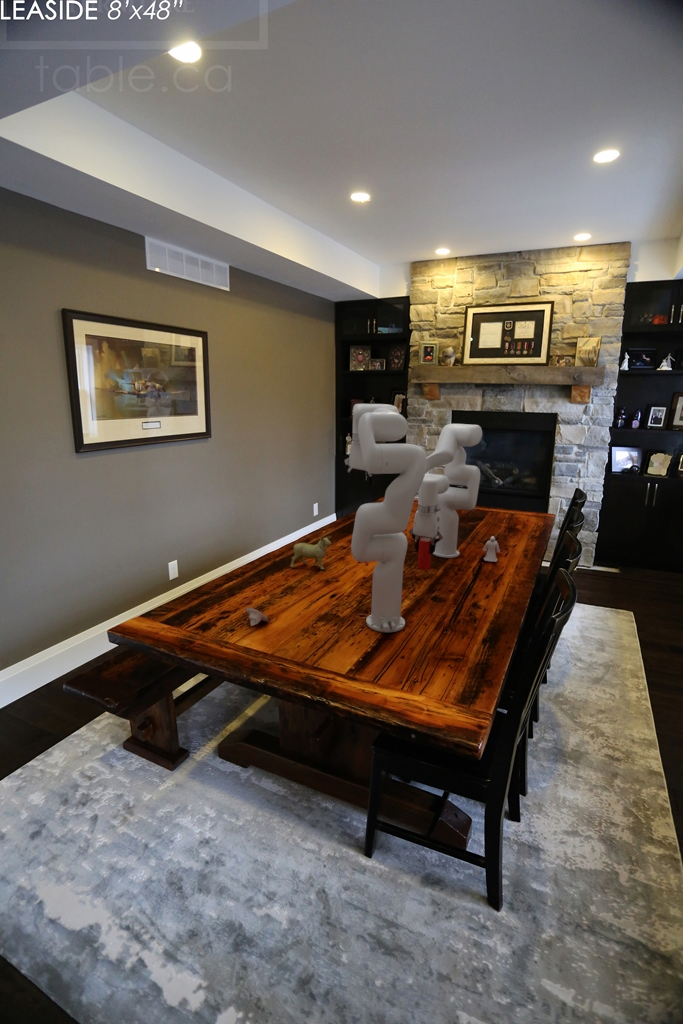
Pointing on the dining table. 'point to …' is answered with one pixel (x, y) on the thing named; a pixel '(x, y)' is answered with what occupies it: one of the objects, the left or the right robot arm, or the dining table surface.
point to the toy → (311, 551)
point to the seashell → (255, 616)
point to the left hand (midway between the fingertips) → (361, 484)
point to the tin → (424, 554)
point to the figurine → (491, 550)
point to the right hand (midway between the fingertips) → (424, 551)
